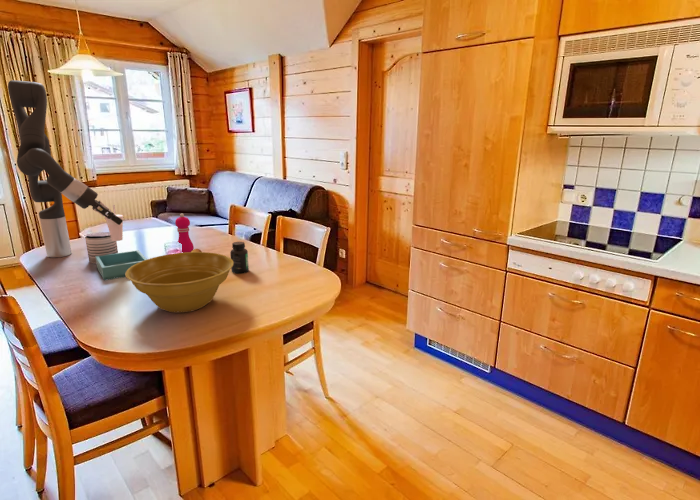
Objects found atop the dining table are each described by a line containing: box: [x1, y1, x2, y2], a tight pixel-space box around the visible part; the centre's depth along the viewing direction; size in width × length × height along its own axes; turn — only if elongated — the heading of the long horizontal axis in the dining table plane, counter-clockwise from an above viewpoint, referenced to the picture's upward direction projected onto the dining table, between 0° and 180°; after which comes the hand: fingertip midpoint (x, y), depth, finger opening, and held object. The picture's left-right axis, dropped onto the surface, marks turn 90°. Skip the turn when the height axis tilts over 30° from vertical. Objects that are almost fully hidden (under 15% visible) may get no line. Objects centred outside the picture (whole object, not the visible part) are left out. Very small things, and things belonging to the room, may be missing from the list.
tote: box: [95, 249, 148, 281], centre depth 167 cm, size 18×16×5 cm
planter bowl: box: [125, 251, 234, 313], centre depth 135 cm, size 32×32×13 cm
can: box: [84, 231, 119, 265], centre depth 179 cm, size 11×11×12 cm
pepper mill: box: [174, 213, 195, 253], centre depth 183 cm, size 7×7×20 cm
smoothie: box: [104, 204, 124, 242], centre depth 162 cm, size 6×6×14 cm
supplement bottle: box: [229, 241, 250, 275], centre depth 167 cm, size 7×7×12 cm
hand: (119, 221), depth 163 cm, fingers closed on smoothie, 6 cm apart
